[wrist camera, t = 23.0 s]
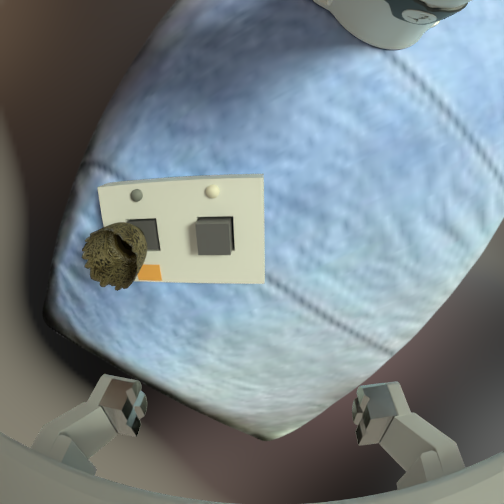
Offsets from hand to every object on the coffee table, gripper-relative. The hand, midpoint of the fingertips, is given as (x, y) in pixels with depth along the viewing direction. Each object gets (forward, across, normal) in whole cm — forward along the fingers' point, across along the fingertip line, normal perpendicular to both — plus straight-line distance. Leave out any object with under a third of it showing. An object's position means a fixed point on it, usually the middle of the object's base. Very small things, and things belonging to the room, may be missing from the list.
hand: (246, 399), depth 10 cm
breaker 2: (+29, +6, +4) cm, 30 cm away
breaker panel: (+31, +11, +4) cm, 33 cm away
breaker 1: (+31, +16, +4) cm, 35 cm away
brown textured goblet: (+28, +17, +4) cm, 33 cm away
